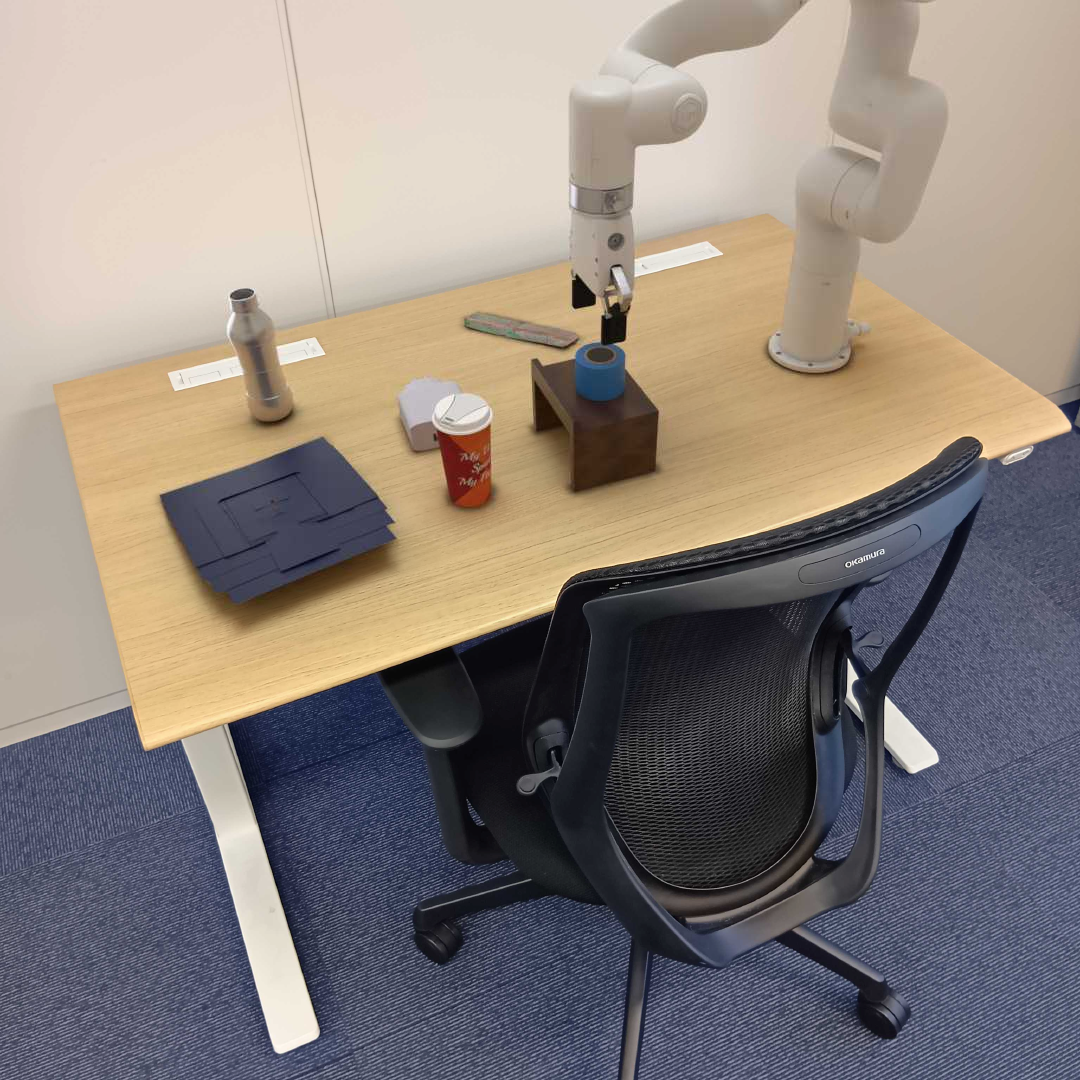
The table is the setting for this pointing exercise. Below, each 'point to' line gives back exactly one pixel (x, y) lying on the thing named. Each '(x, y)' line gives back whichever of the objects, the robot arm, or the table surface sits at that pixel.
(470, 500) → the paper cup
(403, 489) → the table surface
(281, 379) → the silver metal bottle
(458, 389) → the charger
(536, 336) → the map
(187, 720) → the table surface
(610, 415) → the desk shelf
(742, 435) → the table surface
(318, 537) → the navy flat layered slab
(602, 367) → the tape roll
